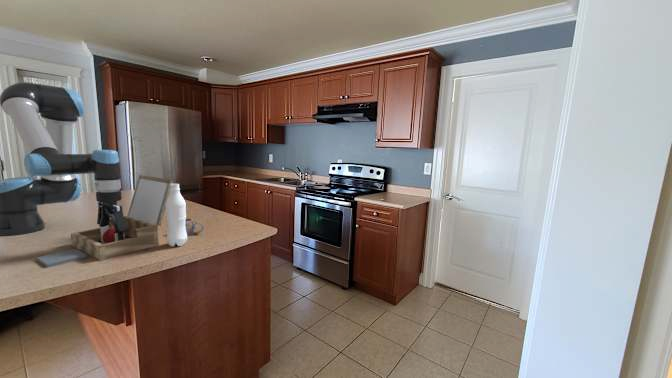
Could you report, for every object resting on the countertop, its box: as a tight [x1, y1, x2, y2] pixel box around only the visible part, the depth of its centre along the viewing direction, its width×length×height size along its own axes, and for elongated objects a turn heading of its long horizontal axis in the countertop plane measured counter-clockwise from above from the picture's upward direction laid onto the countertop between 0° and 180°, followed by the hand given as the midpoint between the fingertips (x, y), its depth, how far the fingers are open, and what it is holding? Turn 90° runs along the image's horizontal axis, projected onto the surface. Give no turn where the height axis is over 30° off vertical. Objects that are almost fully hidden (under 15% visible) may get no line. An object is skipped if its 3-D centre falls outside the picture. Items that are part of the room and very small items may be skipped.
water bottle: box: [165, 183, 188, 247], centre depth 111 cm, size 7×7×25 cm
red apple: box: [103, 226, 115, 244], centre depth 108 cm, size 6×6×8 cm
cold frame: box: [70, 215, 159, 261], centre depth 109 cm, size 25×19×8 cm
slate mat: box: [36, 248, 88, 268], centre depth 95 cm, size 10×10×1 cm
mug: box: [185, 218, 205, 236], centre depth 126 cm, size 12×7×7 cm, turn 87°
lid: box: [127, 174, 174, 227], centre depth 118 cm, size 25×19×1 cm
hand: (113, 245), depth 109 cm, fingers open, 11 cm apart
